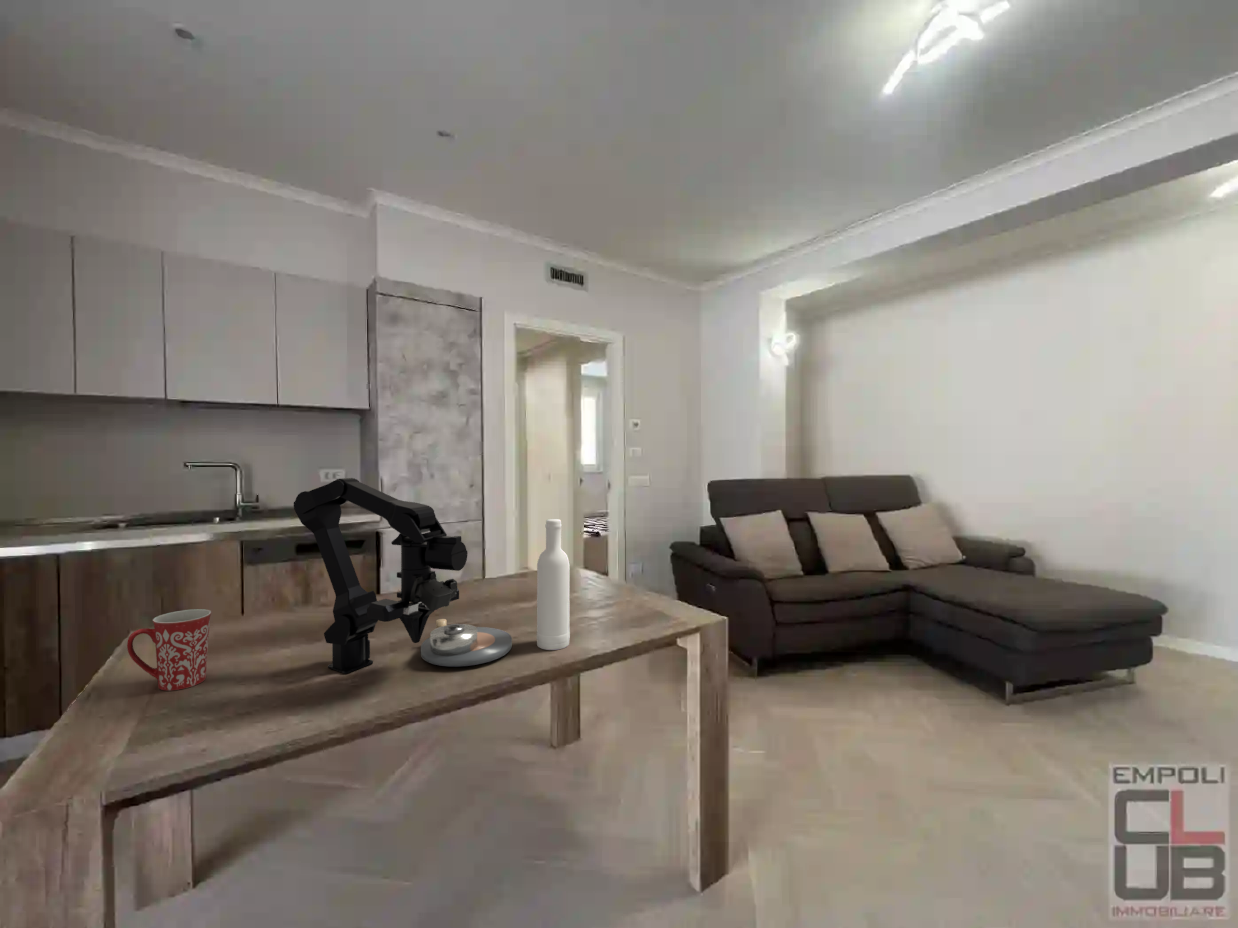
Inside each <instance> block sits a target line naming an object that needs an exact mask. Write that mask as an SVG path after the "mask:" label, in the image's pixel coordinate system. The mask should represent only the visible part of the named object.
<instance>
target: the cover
mask: <svg viewBox="0 0 1238 928" xmlns="http://www.w3.org/2000/svg"><path fill="white" fill-rule="evenodd" d="M476 627H477V626H475V625H472V624H468V623H467V624H465V623H451V624H447V625H446V626H442V627H439V628H436V627H435V628H434V629H433V630H431V632H430V633H429V634H430V651H431V652H432V653H433V654H436V655H441V656H453V655H460V654H464V653H468V652H470V651H472V650H474V649H475V648H476V647H477V628H476Z"/></svg>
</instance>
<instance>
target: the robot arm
mask: <svg viewBox="0 0 1238 928" xmlns="http://www.w3.org/2000/svg"><path fill="white" fill-rule="evenodd" d="M346 503H347V504H348V503H352V504H354V505H356V506H358V507H359V508H362V509H364V510H365V511H366V510H367V511H368V512H371V513H373V514H375V515H378V516H379V517H381V518H383V519H385V521H386V522H387V523H388V525H389V526H390V527H391V528H392V529H394V531H396V532H397V533H398V535H397V537H395V538H394V539H393V540H392V541H391V543H390V544H391V545H392V546H400V571H398V572H396V578H398V579H400V591H398V592H396V598H397V599H400V600H394V599H389V598H383V599H380V600H378V599H377V595H376V592H375V590H370V591H366V589H364V588H363V587H362V586H361V583H360V581H359V577H358V575H357V572H356V570H355V566H354V564H353V562H352V559H351V556H350V554H349V550H348V547H347V545H346V542H345V539H344V537H343V534H342V532H341V531H342V530H341V528H340V522H341V517H342V507H341V506H342V505H345V504H346ZM293 509H294V511H295V514H296V515H297V517H298V519H299V521H300V523H301V524H302V525H303V526H304V527H305V528H306V529H308V530H309V531H310V532H311V533H312V534H313V535H314V539H315V541H316V544H317V547H318V550H319V552H320V556H321V558H322V561H323V563H324V566H325V568H326V571H327V575H328V578H329V580H330V583H331V586H332V589H333V591H334V594H335V599H334V605H333V609H332V614H333V619H334V622H333V623H331V625H330V626H329V627H328V628H327V629H326V630H325V631H324V633H323V636H324V639H325V643H326V644H330V645H331V644H332V647H331V649H332V650H331V651H332V653H331V654H332V656H331V657H332V660H331V661H332V663H330V664H328V665H327V668H328V669H330V670H333V671H336V672H339V673H342V674H346V675H347V674H349V673H352V672H354V671H357V670H359V669H362V668H366V667H367V666H370V665H373V664H374V660H372V659H371V658H370V657H371V640H370V639H369V634H371V633H373V632H374V631H375V628H376V625H377V623H378V622H384V623H385V622H391V621H395V620H397V619H399V620H400V621H401V623H402V624H403V626H404V628H405V629H406V631H407V634H408V636H409V638H410V639H411V642H412V643H413V644H417V643H420V641H421V639H422V635H423V633H424V629H425V627H426V625H427V621H428V620H429V617H430V616H431V614H432V613H434V612H435V611H438V610H439V609H441V608H444V607H445V608H447V607H448V606H450V603H451V602H453V601H456V600H459V599H460V589H459V588H458V581H457V580H456V579H454V578H450V579H449V578H448V579H446V580H445V581H444V580H442V581H438V580H437V573H436V571H435V570H446V571H456V572H457V571H462V570H463V568H464V567H465V565H466V563H467V560H468V550H467V547H466V545H465V543H464V542H463V541H462V536H461V535H451V536H450V535H447V532H446V531H445V530H444V528H443V526H442V525H441V523H440V521H439V519H438V518H437V517H436V514H435V510H434V509H433V507H432V506H430V505H427V504H424V503H420V502H414V501H406V500H405V501H404V500H401V499H398V498H396V497H393V496H391V495H390V494H389V495H388V493H387V494H386V493H385V492H382V491H380V490H378V489H376V488H374V487H371V486H369V485H367V484H365V483H362V482H360V481H359V480H358V479H357V478H353V477H345V478H344V477H343V478H336V479H335V480H333V481H331V482H329V483H327V484H325V485H321V486H319V487H317V488H314V489H311V490H305V491H301V492H299V493H298V494H297V496H296V498H295V500H294V501H293ZM432 569H433V570H432Z"/></svg>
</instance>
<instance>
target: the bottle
mask: <svg viewBox="0 0 1238 928" xmlns="http://www.w3.org/2000/svg"><path fill="white" fill-rule="evenodd" d="M562 526H563V525H562V520H561V519H559V518H548V519H546V520H545V549H544V550H542V552H541V553H540V554H539V556H538V559H537V564H536V571H537V572H536V577H537V578H536V626H537V627H536V645H537V647H538V648H539V649H541V650H544V651H545V650H546V651H556V650H557V651H558V650H562V649H565V648H567V647H568V646H570V639H571V638H570V637H571V629H570V607H571V606H570V605H571V604H570V603H571V602H570V601H571V600H570V599H571V598H570V597H571V596H570V589H571V588H570V583H571V582H570V578H571V577H570V576H571V575H570V571H571V570H570V568H571V566H570V560H569V556H568V554H567V553H566V552H565V551H564V550H563V549H562Z"/></svg>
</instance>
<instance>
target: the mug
mask: <svg viewBox="0 0 1238 928" xmlns="http://www.w3.org/2000/svg"><path fill="white" fill-rule="evenodd" d="M211 615H212V610H211V609H204V608H202V609H201V608H199V609H197V608H195V609H194V608H193V609H182V610H177V611H172V612H167V613H163V614H160V615H157V616H156V617H154V618H152V623H153V625H154V628H148V627H147V628H145V627H144V628H139V629H137V630H134V631H133V632H132V633H131V634H130V635H129V637H128V639H127V643H126V646H127V647H126V649H127V653H128V655H129V656H130V658H131V660H132V661H133V662H134V663H136V665H138V666H139V667H140V668H141V669H142V670H143V671H144V672H146V673H148V674H149V675H150V676H152V677H153V678H155V679H156V680H157V687H158V689H159V690H161V691H167V692H169V691H177V690H178V691H179V690H184V689H187V688H191V687H195V686H197V685H199V684H201V683H202V682H204V681H205V680H206V679H207V678H206V677H207V668H208V667H207V664H208V653H209V652H208V651H209V638H210V622H211V621H210V619H211ZM143 634H145V635H148V636H149V637H150V638H151V640H152V642H153V644H155V657H156V667H152V666H151V665H149V664H147V662H145V661H144V660H142V659H141V658H140V656H139V655H138V654H137V653H136V652H135V650H134V640H135V638H136V637H137V636H139V635H143Z"/></svg>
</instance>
